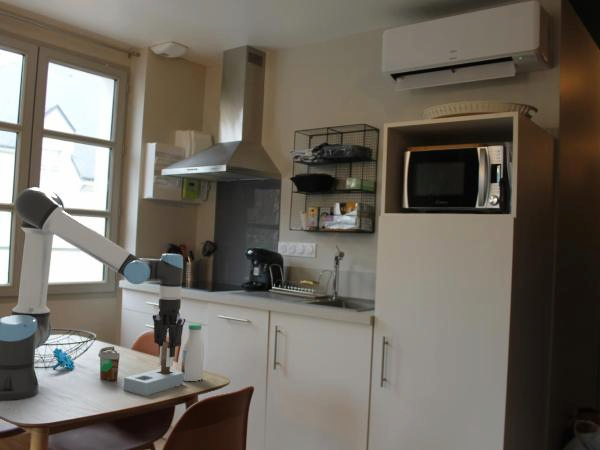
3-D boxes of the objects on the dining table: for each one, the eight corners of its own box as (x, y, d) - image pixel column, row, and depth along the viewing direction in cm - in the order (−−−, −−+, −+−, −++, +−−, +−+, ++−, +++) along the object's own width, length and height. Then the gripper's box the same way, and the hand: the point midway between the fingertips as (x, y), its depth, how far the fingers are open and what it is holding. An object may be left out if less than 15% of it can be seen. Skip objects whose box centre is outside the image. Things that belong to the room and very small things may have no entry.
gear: (68, 369, 199) (51, 347, 200) (55, 380, 198) (38, 358, 200) (81, 366, 210) (65, 346, 211) (68, 376, 209) (53, 356, 211)
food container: (94, 374, 200) (96, 346, 200) (112, 373, 203) (114, 346, 203) (99, 383, 189) (101, 354, 189) (117, 382, 192) (119, 353, 192)
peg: (165, 377, 191) (167, 343, 192) (158, 376, 193) (161, 341, 193) (171, 376, 194) (173, 341, 194) (164, 374, 195) (167, 340, 196)
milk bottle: (205, 378, 204) (209, 324, 205) (196, 383, 197) (200, 326, 197) (186, 375, 206) (190, 321, 207) (176, 380, 199) (180, 324, 199)
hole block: (145, 395, 179) (146, 383, 179) (123, 389, 184) (124, 377, 184) (182, 384, 194) (183, 372, 194) (161, 379, 199) (162, 368, 199)
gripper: (194, 299, 193) (190, 367, 193) (160, 295, 201) (156, 360, 201) (179, 301, 187) (175, 371, 186) (145, 296, 194) (141, 363, 194)
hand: (165, 365), depth 193 cm, fingers closed on peg, 2 cm apart
